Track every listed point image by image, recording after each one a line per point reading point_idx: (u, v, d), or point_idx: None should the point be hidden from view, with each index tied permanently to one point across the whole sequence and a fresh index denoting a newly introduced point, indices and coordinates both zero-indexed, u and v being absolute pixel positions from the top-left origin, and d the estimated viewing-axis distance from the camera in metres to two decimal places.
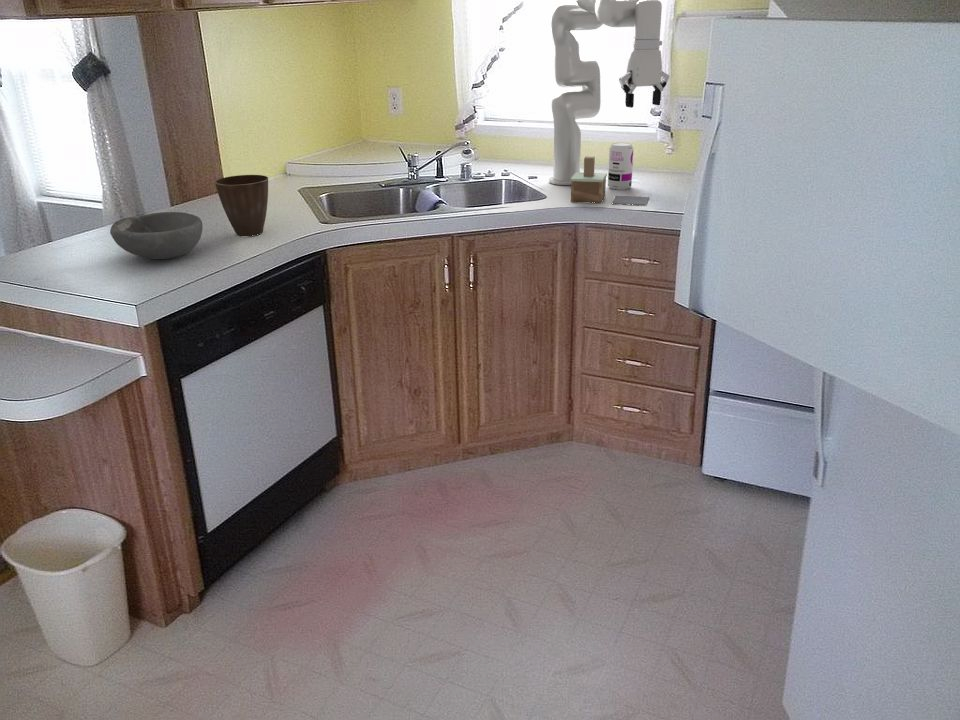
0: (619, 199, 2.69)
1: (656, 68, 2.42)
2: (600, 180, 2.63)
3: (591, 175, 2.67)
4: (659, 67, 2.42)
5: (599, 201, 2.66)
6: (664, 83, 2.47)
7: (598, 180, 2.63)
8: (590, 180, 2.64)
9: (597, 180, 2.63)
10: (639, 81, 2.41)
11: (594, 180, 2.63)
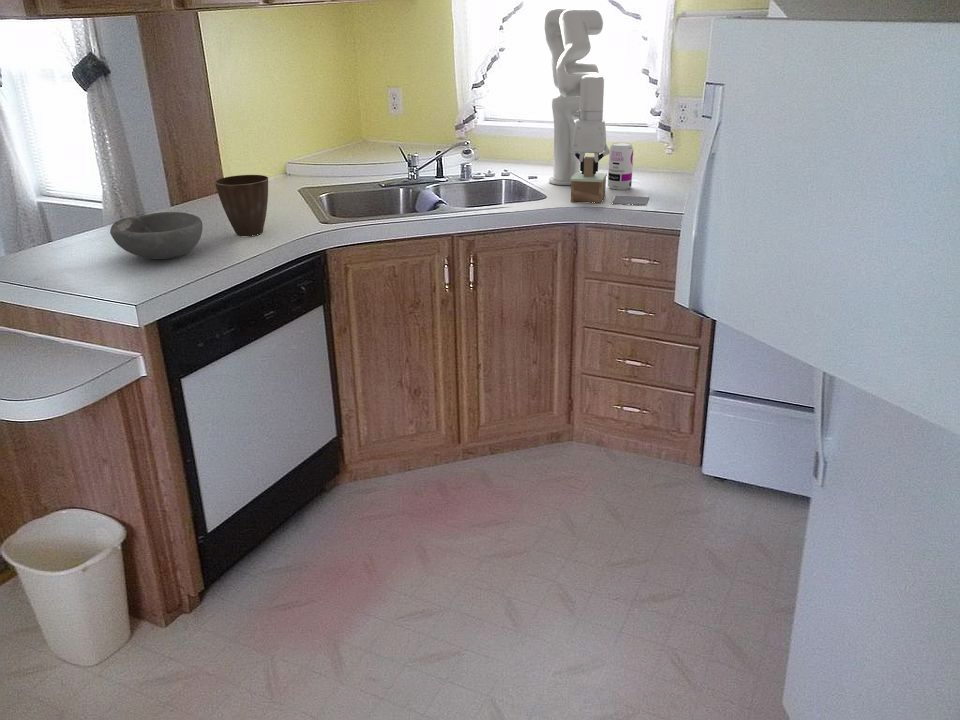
0: (619, 199, 2.69)
1: None
2: (600, 180, 2.63)
3: (591, 175, 2.67)
4: None
5: (599, 201, 2.66)
6: None
7: (598, 180, 2.63)
8: (590, 180, 2.64)
9: (597, 180, 2.63)
10: None
11: (594, 180, 2.64)
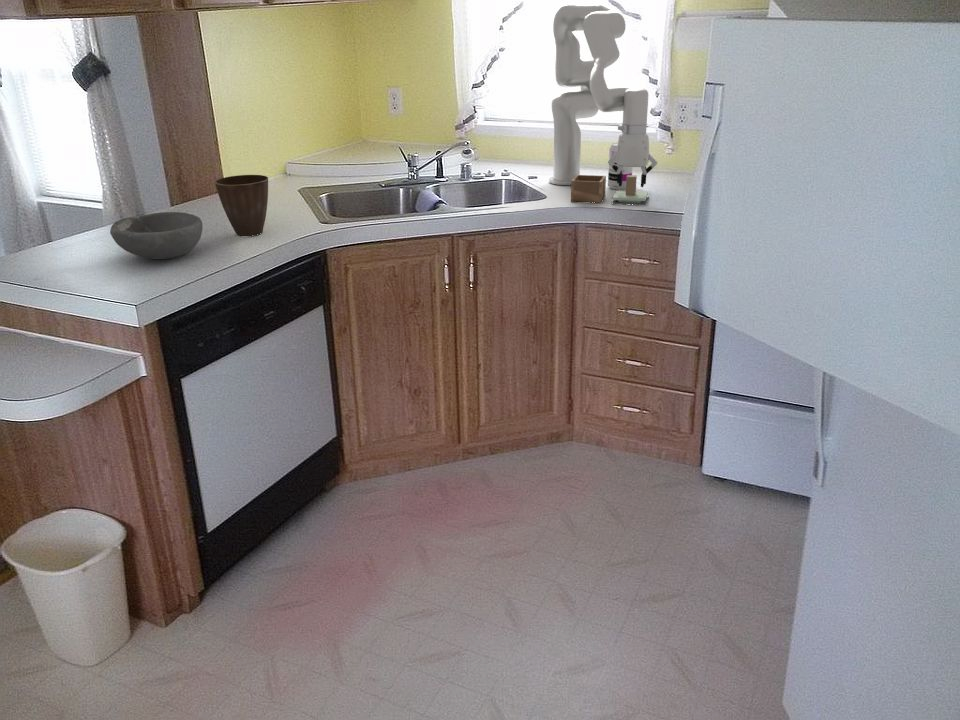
0: None
1: None
2: (643, 199, 2.62)
3: (633, 194, 2.66)
4: None
5: (599, 201, 2.66)
6: None
7: (641, 199, 2.62)
8: (633, 199, 2.63)
9: (640, 199, 2.62)
10: None
11: (637, 199, 2.62)
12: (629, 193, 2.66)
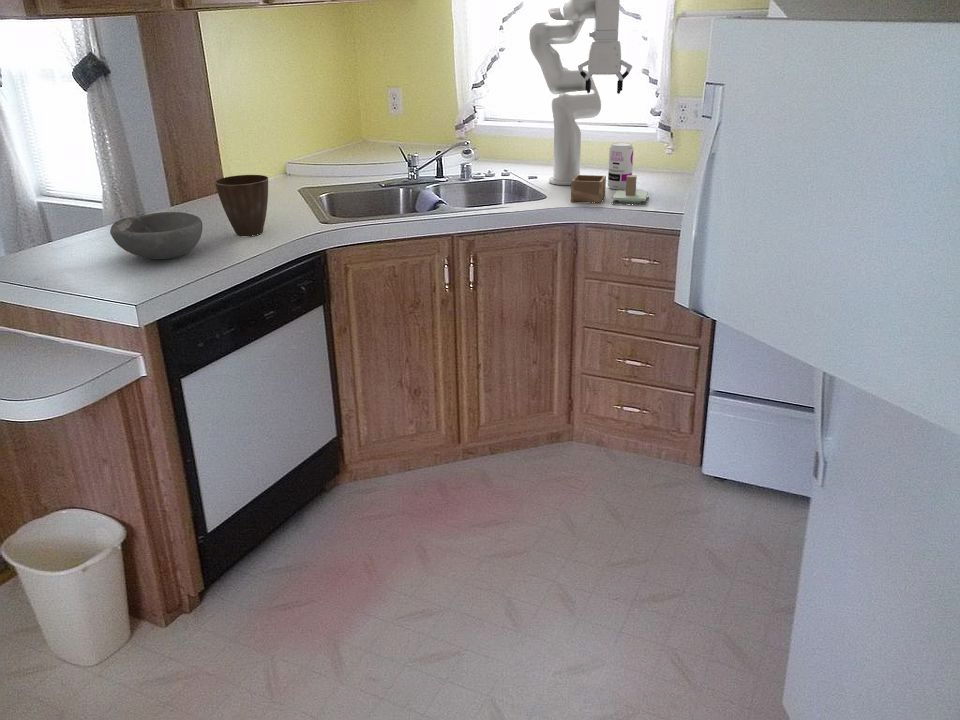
0: None
1: None
2: (643, 199, 2.62)
3: (633, 194, 2.66)
4: None
5: (599, 201, 2.66)
6: None
7: (641, 199, 2.62)
8: (633, 199, 2.63)
9: (640, 199, 2.62)
10: None
11: (637, 199, 2.62)
12: (629, 193, 2.66)
